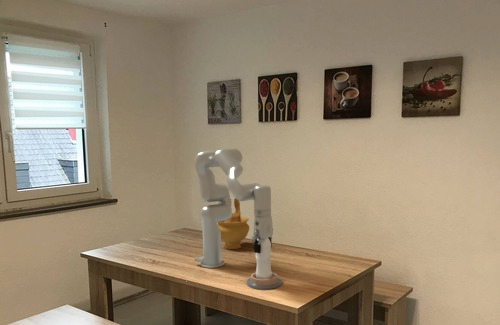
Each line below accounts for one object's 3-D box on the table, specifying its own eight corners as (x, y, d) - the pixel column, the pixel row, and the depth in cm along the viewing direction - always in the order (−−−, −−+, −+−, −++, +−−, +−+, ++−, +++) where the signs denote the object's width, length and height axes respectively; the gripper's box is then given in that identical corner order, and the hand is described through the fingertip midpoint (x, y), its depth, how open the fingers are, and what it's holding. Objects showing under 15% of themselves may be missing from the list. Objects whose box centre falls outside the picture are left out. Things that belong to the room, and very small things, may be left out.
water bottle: (255, 278, 184) (254, 225, 183) (270, 277, 185) (269, 224, 184) (256, 284, 177) (255, 228, 176) (272, 283, 178) (271, 227, 177)
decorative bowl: (211, 250, 238) (209, 200, 237) (221, 241, 259) (220, 196, 257) (245, 252, 234) (244, 201, 232) (253, 243, 254) (252, 196, 253)
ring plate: (249, 290, 172) (249, 282, 172) (244, 278, 188) (244, 271, 188) (285, 288, 174) (285, 280, 174) (277, 276, 190) (277, 269, 190)
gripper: (260, 216, 170) (260, 256, 171) (279, 210, 185) (279, 246, 186) (245, 215, 174) (245, 253, 175) (265, 209, 189) (265, 244, 190)
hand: (262, 250), depth 181 cm, fingers open, 9 cm apart
